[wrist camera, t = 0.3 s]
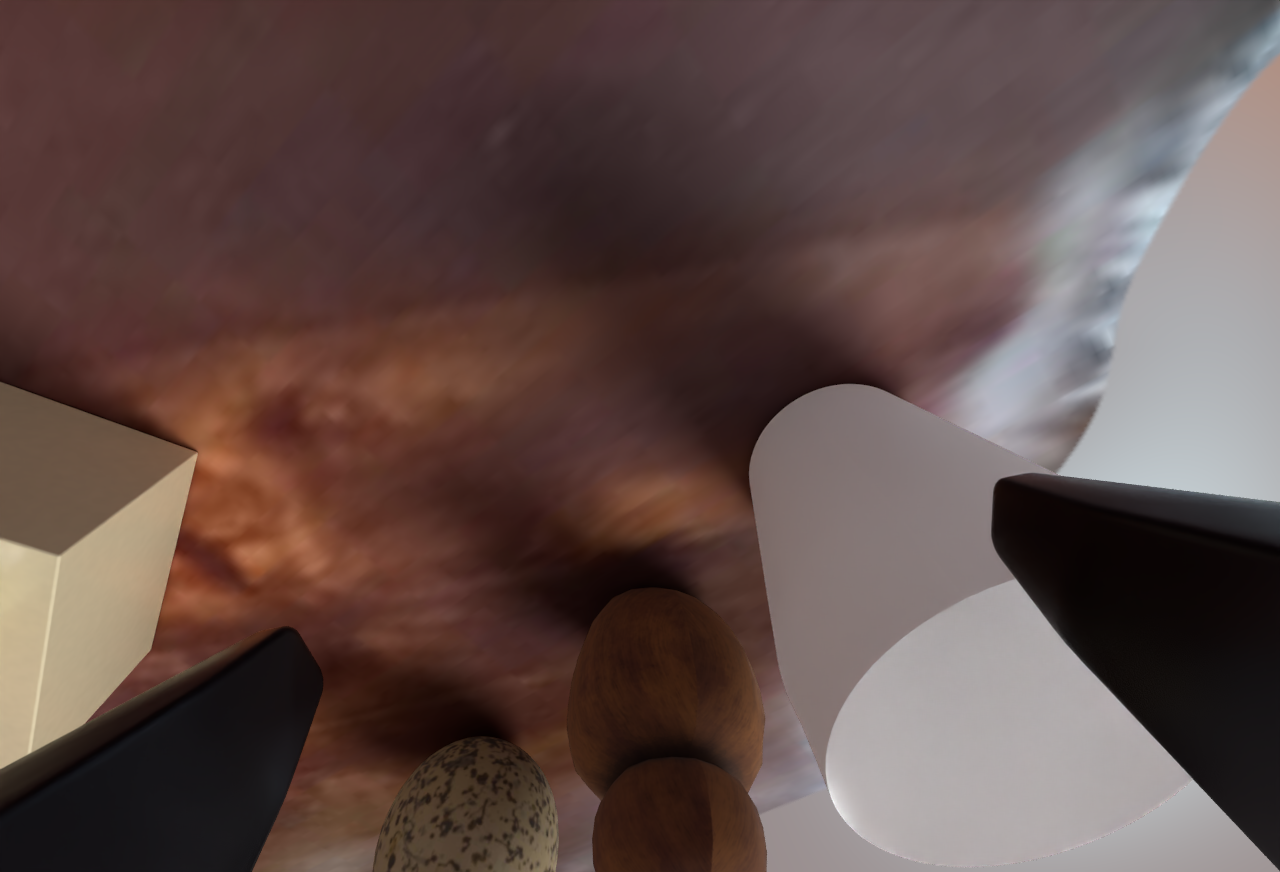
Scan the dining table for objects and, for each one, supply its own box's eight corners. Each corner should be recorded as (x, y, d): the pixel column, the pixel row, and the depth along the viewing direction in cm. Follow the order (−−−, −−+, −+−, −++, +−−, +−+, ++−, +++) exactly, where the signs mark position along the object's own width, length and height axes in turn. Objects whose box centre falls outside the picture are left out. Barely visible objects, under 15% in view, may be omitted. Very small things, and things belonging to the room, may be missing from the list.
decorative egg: (431, 681, 27) (345, 951, 18) (585, 718, 28) (578, 984, 19) (393, 786, 30) (302, 1066, 21) (536, 815, 31) (510, 1088, 22)
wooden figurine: (558, 655, 27) (513, 1180, 13) (598, 549, 24) (593, 1049, 11) (703, 685, 28) (800, 1194, 14) (753, 587, 26) (923, 1078, 12)
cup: (781, 596, 26) (910, 917, 15) (672, 434, 23) (738, 700, 12) (984, 491, 24) (1292, 768, 14) (900, 300, 21) (1223, 464, 10)
